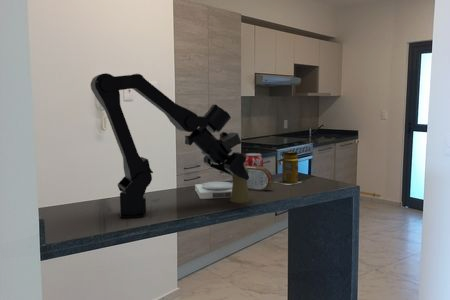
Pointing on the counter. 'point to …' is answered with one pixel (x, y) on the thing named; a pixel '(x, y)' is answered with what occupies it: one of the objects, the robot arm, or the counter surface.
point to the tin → (258, 178)
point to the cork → (240, 190)
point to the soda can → (254, 160)
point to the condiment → (289, 168)
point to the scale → (214, 190)
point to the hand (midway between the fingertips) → (240, 176)
